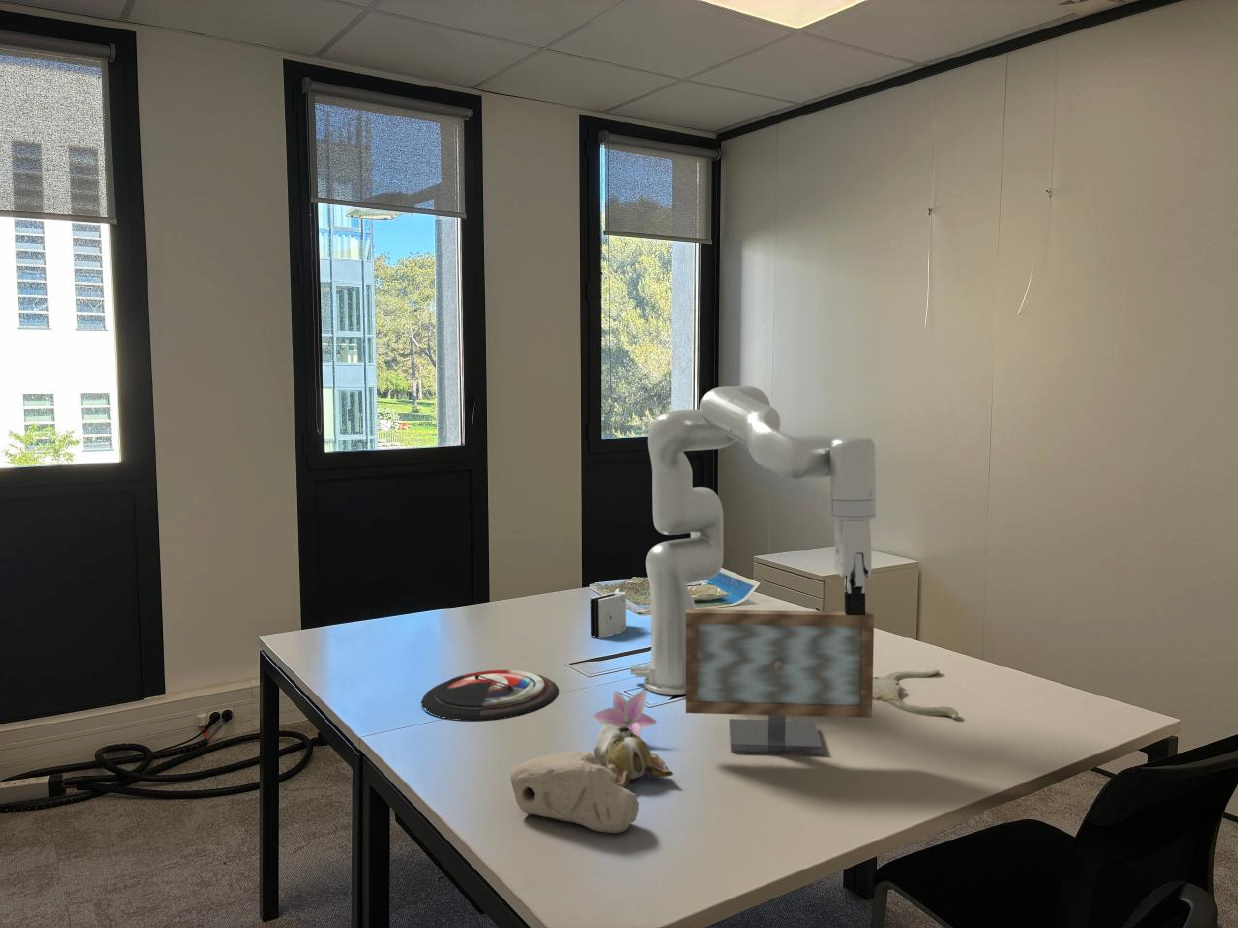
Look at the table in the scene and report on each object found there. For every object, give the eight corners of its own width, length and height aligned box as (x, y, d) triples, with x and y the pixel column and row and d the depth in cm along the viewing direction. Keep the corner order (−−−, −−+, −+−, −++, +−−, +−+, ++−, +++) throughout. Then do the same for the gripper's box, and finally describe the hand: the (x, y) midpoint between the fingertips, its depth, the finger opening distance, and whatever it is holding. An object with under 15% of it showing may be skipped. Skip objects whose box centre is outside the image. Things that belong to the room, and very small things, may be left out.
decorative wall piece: (802, 716, 186) (960, 725, 180) (802, 702, 186) (961, 709, 180) (802, 668, 216) (938, 674, 210) (802, 655, 215) (939, 661, 210)
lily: (587, 740, 175) (583, 709, 170) (627, 706, 181) (624, 674, 176) (630, 773, 169) (627, 742, 163) (670, 736, 175) (668, 705, 169)
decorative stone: (503, 815, 144) (502, 753, 143) (529, 795, 151) (528, 735, 150) (621, 844, 135) (621, 777, 134) (643, 821, 142) (643, 758, 141)
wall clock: (504, 677, 217) (393, 702, 195) (505, 657, 217) (393, 680, 195) (585, 703, 199) (473, 734, 177) (586, 681, 199) (474, 710, 176)
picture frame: (685, 713, 164) (685, 613, 162) (686, 707, 166) (686, 608, 165) (872, 718, 161) (874, 616, 159) (869, 712, 163) (871, 611, 162)
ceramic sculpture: (632, 706, 166) (677, 739, 152) (631, 752, 167) (676, 789, 154) (578, 717, 161) (619, 753, 148) (578, 765, 162) (618, 804, 149)
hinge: (617, 624, 251) (617, 588, 250) (634, 627, 248) (634, 590, 247) (588, 637, 239) (587, 598, 238) (605, 640, 237) (605, 601, 236)
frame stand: (731, 752, 167) (731, 648, 165) (729, 726, 179) (729, 629, 177) (822, 754, 165) (823, 649, 163) (814, 728, 177) (815, 630, 175)
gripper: (825, 504, 167) (826, 606, 168) (837, 515, 152) (839, 626, 153) (867, 503, 166) (869, 605, 168) (884, 514, 152) (886, 625, 153)
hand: (855, 615), depth 160 cm, fingers closed
